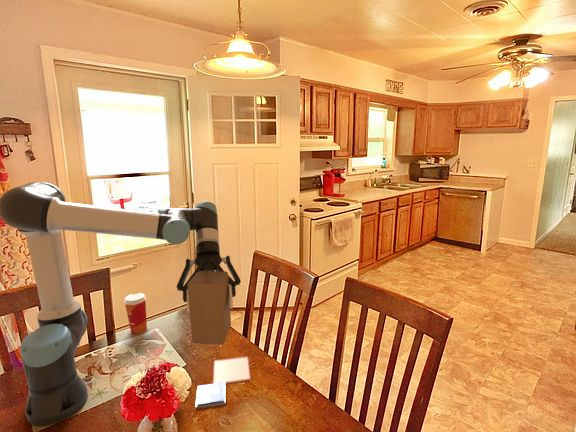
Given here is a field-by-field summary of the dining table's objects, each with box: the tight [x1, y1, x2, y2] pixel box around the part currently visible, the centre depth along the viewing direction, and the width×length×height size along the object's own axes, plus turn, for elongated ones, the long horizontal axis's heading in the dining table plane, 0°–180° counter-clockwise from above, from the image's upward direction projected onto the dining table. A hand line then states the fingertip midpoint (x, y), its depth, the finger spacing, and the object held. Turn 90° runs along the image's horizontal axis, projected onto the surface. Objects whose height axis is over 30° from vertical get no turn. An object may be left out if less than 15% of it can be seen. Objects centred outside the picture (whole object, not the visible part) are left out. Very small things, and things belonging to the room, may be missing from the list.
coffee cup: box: [123, 292, 148, 335], centre depth 137 cm, size 8×8×15 cm
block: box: [188, 270, 232, 345], centre depth 102 cm, size 10×10×20 cm
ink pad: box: [195, 382, 227, 410], centre depth 102 cm, size 8×8×1 cm
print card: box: [212, 355, 252, 385], centre depth 113 cm, size 12×12×1 cm
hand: (210, 309), depth 100 cm, fingers closed on block, 12 cm apart
